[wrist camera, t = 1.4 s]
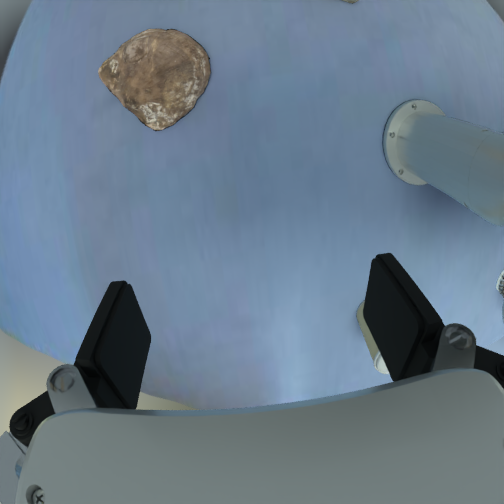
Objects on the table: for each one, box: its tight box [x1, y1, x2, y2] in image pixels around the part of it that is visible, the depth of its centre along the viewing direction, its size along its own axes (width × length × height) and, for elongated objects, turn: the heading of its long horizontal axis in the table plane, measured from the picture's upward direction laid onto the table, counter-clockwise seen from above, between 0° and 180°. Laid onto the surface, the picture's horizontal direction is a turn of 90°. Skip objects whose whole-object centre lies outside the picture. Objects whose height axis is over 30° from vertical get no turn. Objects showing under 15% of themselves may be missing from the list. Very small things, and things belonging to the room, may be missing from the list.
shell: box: [98, 29, 211, 131], centre depth 27 cm, size 12×13×4 cm
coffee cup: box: [357, 300, 389, 374], centre depth 45 cm, size 9×9×12 cm
